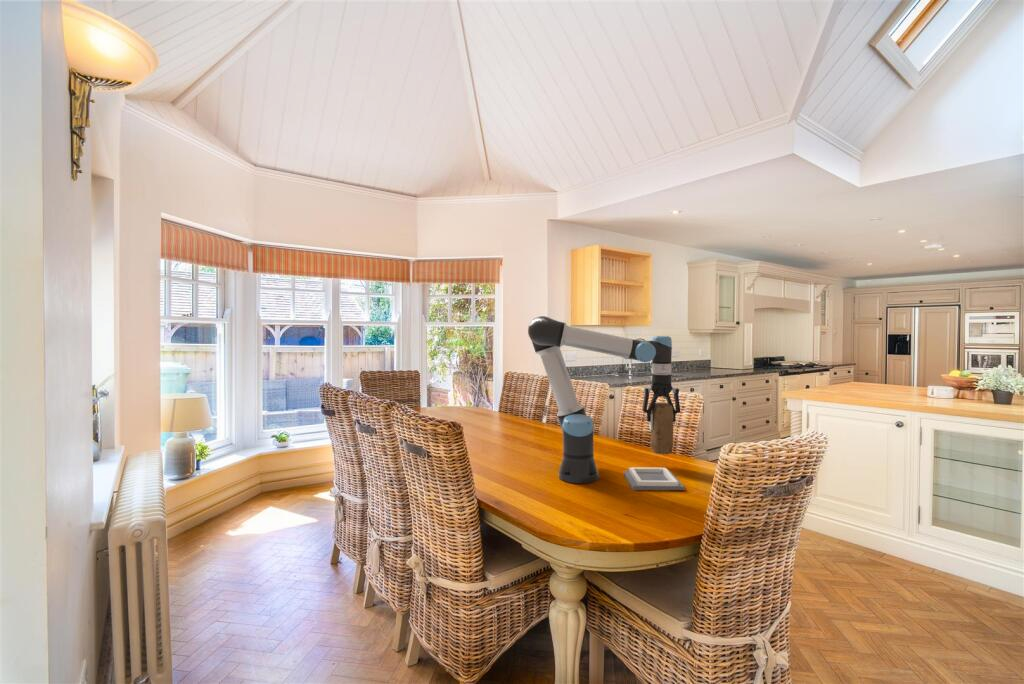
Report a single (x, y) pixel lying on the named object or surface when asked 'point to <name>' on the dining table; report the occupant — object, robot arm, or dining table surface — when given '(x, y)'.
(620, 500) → the dining table surface
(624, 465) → the dining table surface
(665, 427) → the block
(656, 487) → the base plate
